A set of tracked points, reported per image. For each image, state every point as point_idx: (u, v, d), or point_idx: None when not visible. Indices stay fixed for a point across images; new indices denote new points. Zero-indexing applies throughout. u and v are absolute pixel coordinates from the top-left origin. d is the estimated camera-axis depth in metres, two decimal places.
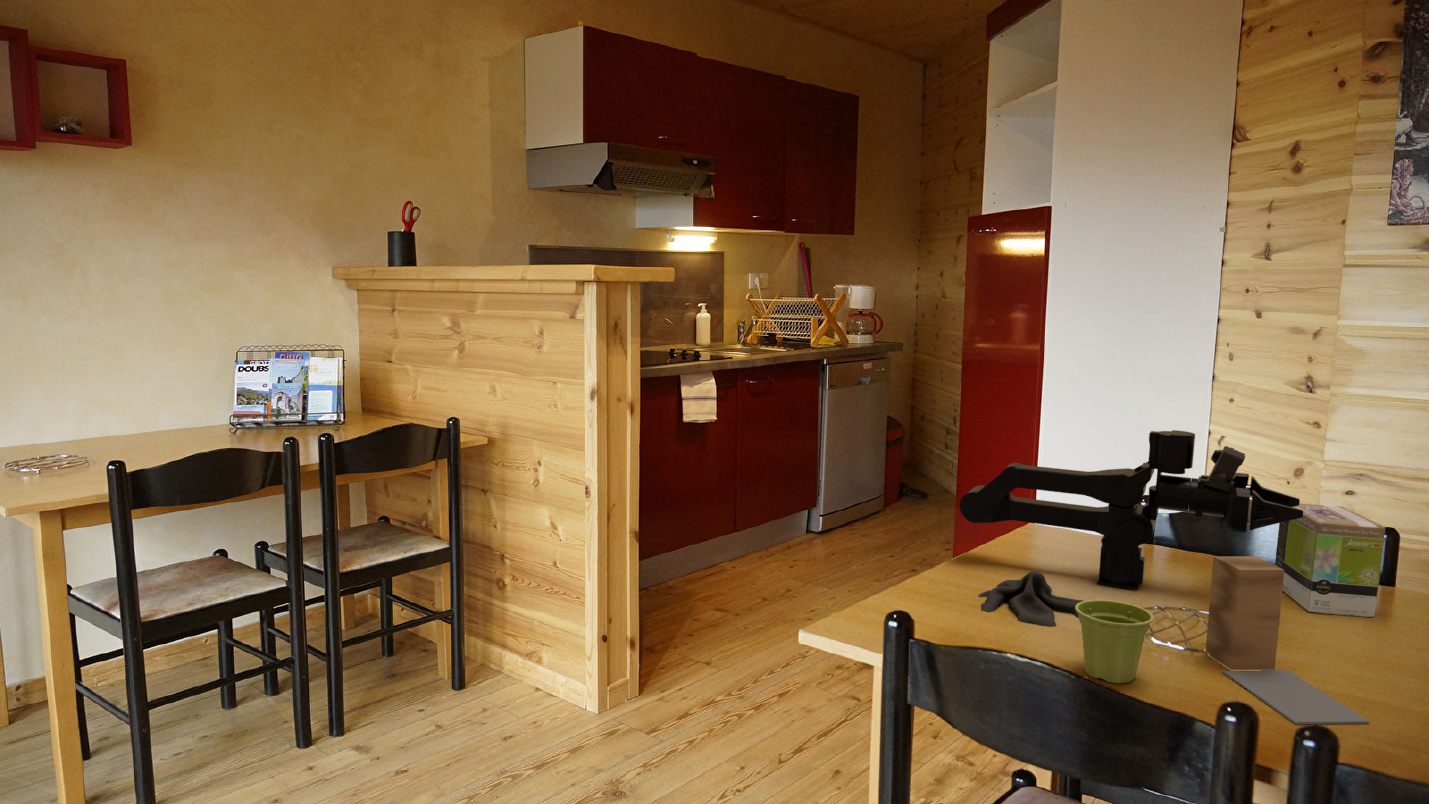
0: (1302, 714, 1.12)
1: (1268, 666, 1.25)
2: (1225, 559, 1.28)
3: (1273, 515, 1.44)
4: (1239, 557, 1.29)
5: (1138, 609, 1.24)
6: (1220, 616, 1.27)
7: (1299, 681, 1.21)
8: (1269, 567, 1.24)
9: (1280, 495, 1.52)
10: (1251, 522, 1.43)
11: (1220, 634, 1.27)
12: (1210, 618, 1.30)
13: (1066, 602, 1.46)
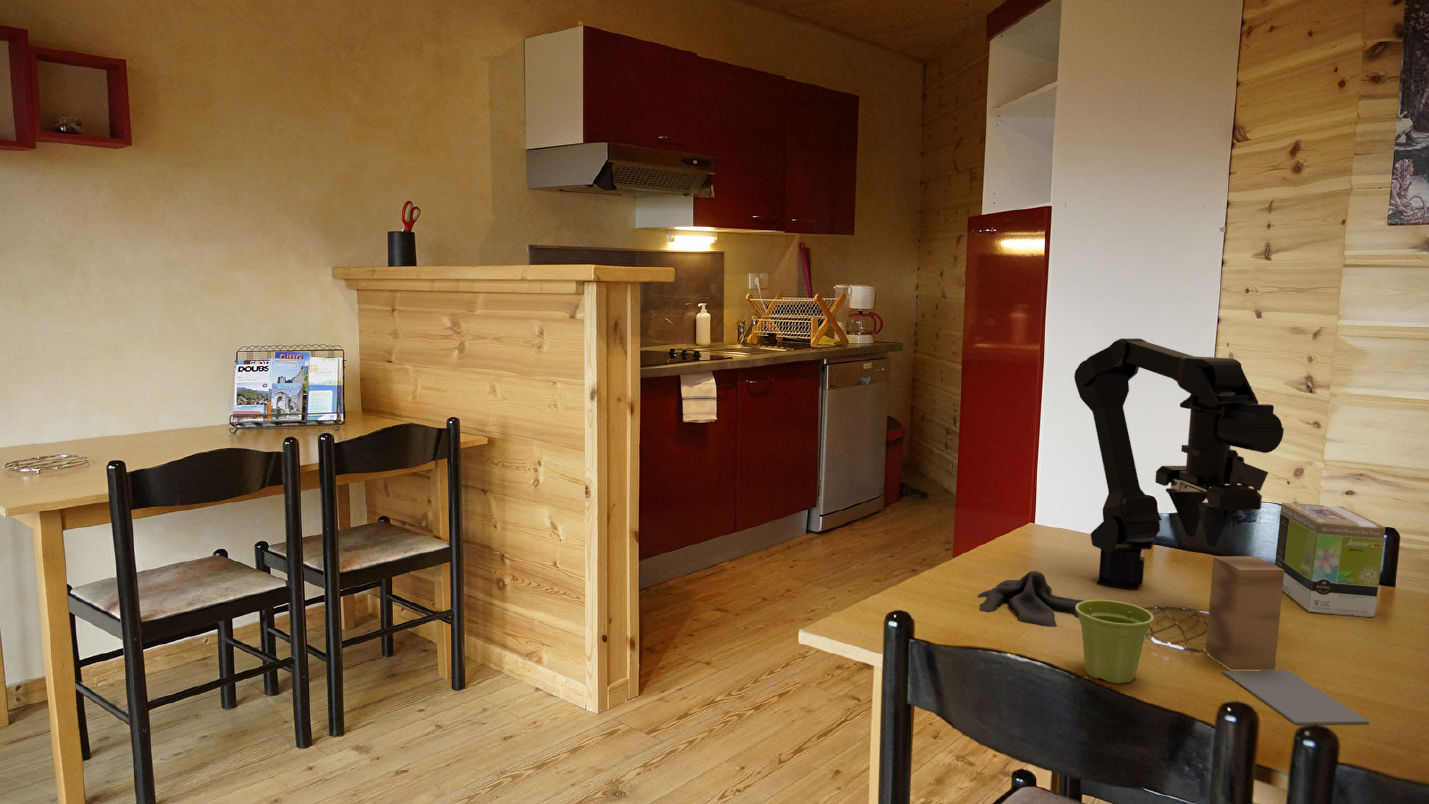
0: (1302, 714, 1.12)
1: (1268, 666, 1.25)
2: (1225, 559, 1.28)
3: (1214, 523, 1.39)
4: (1239, 557, 1.29)
5: (1138, 609, 1.24)
6: (1220, 616, 1.27)
7: (1299, 681, 1.21)
8: (1269, 567, 1.24)
9: (1197, 519, 1.46)
10: (1218, 508, 1.37)
11: (1220, 634, 1.27)
12: (1210, 618, 1.30)
13: (1066, 602, 1.46)
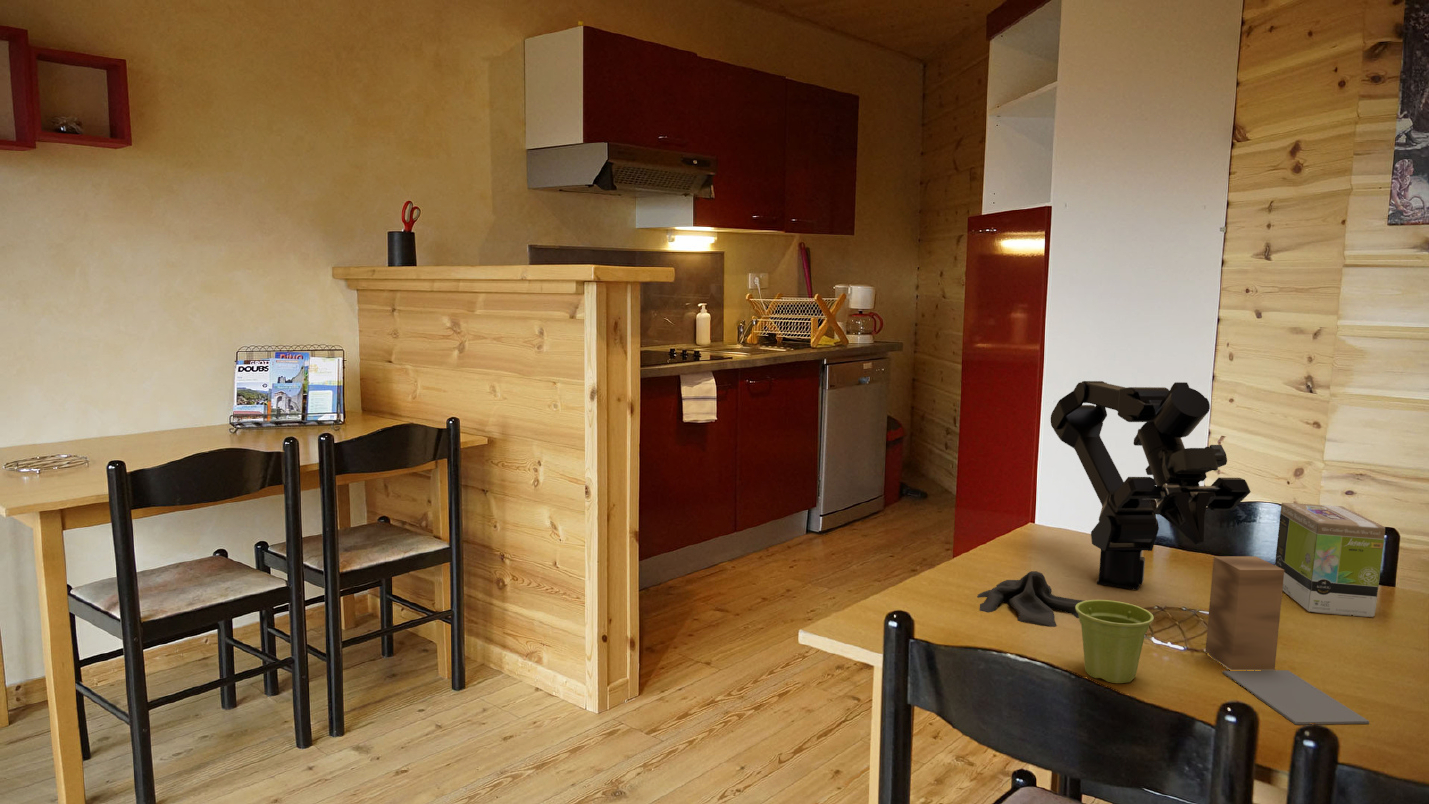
0: (1302, 714, 1.12)
1: (1268, 666, 1.25)
2: (1225, 559, 1.28)
3: (1180, 522, 1.40)
4: (1239, 557, 1.29)
5: (1138, 609, 1.24)
6: (1220, 616, 1.27)
7: (1299, 681, 1.21)
8: (1269, 567, 1.24)
9: (1197, 524, 1.39)
10: (1156, 508, 1.43)
11: (1220, 634, 1.27)
12: (1210, 618, 1.30)
13: (1066, 602, 1.46)
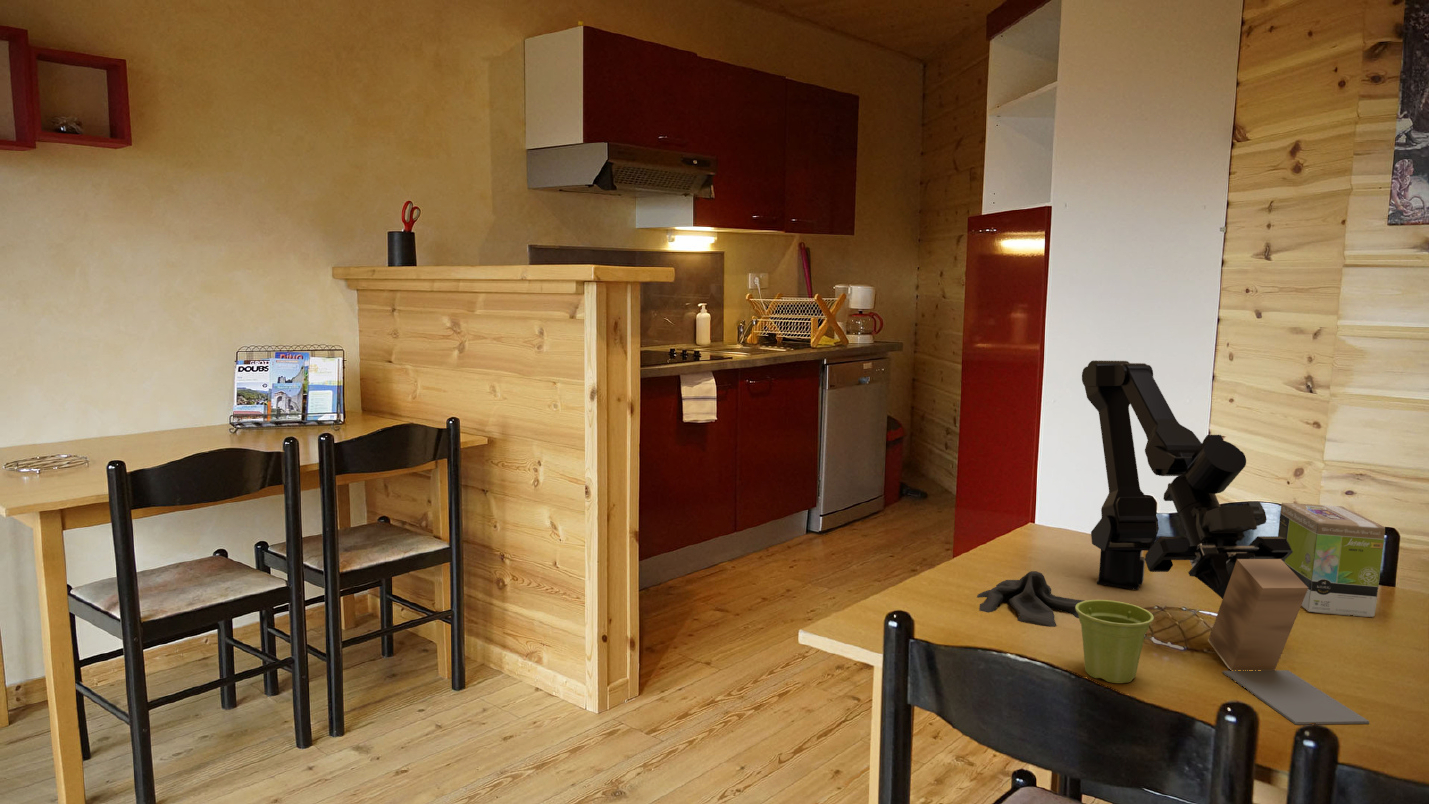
0: (1302, 714, 1.12)
1: (1269, 667, 1.25)
2: (1248, 565, 1.23)
3: (1217, 585, 1.31)
4: (1263, 561, 1.24)
5: (1138, 609, 1.24)
6: (1231, 617, 1.25)
7: (1299, 681, 1.21)
8: (1293, 582, 1.20)
9: None
10: (1191, 570, 1.33)
11: (1227, 632, 1.26)
12: (1220, 612, 1.27)
13: (1066, 602, 1.46)
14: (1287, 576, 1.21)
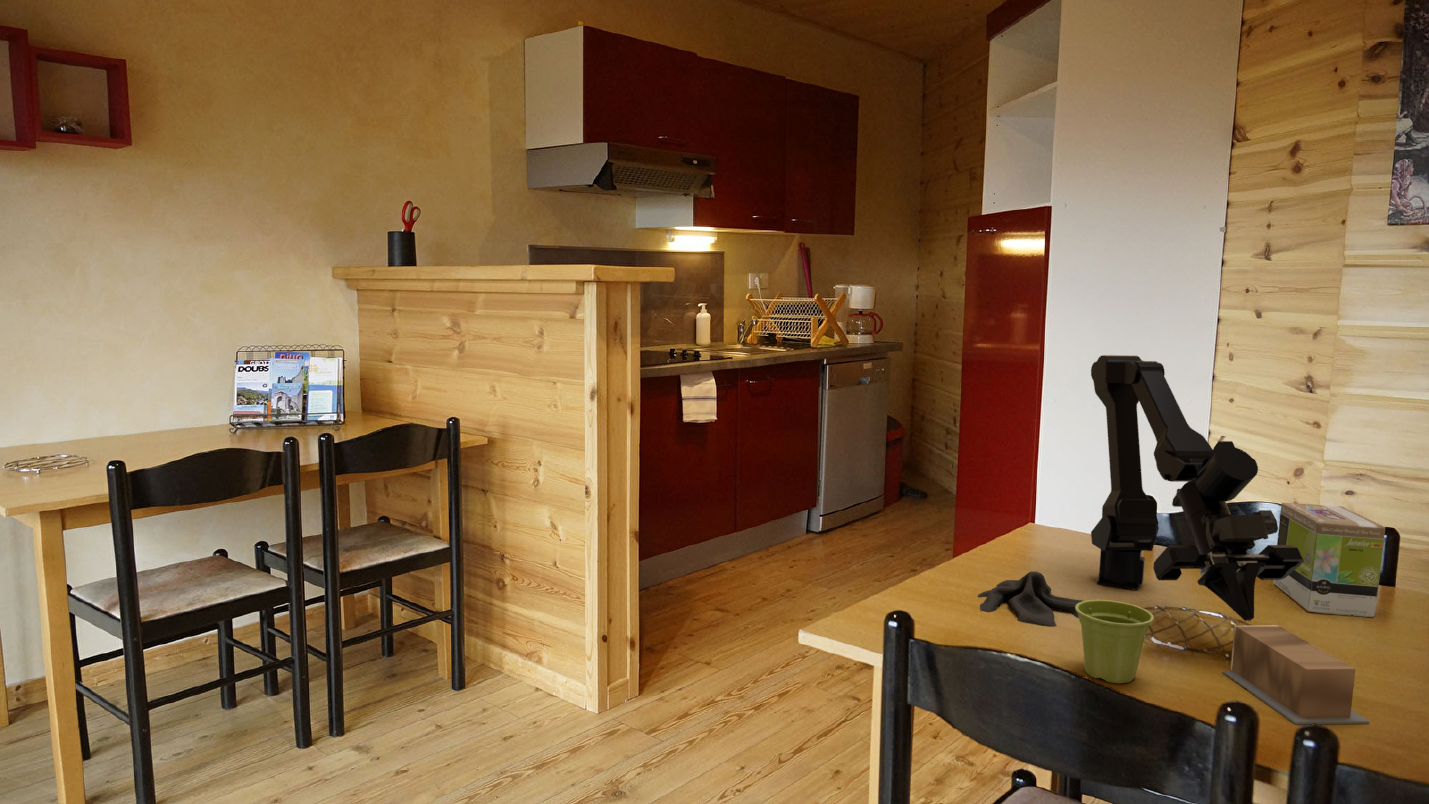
0: None
1: None
2: (1312, 680, 1.10)
3: (1227, 595, 1.28)
4: (1333, 673, 1.11)
5: (1138, 609, 1.24)
6: (1263, 664, 1.18)
7: None
8: (1340, 709, 1.11)
9: (1246, 598, 1.27)
10: (1200, 579, 1.31)
11: (1251, 659, 1.21)
12: (1259, 644, 1.19)
13: (1066, 602, 1.46)
14: (1341, 698, 1.11)
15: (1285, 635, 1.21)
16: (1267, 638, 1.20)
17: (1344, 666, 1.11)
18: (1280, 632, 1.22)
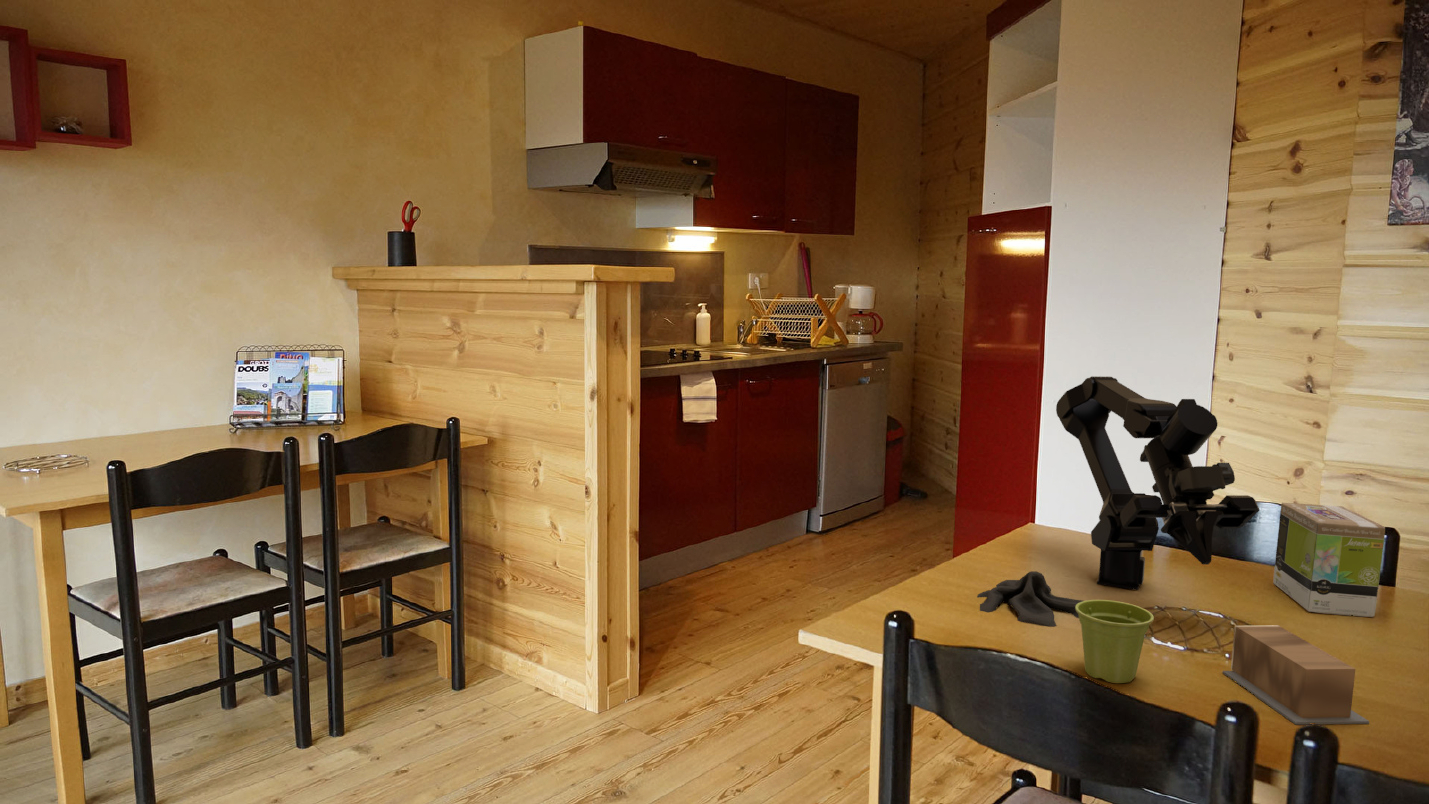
0: None
1: None
2: (1312, 680, 1.10)
3: (1187, 541, 1.38)
4: (1333, 673, 1.11)
5: (1138, 609, 1.24)
6: (1263, 664, 1.18)
7: None
8: (1340, 709, 1.11)
9: (1204, 544, 1.37)
10: (1163, 527, 1.41)
11: (1251, 659, 1.21)
12: (1259, 644, 1.19)
13: (1066, 602, 1.46)
14: (1341, 698, 1.11)
15: (1285, 635, 1.21)
16: (1267, 638, 1.20)
17: (1344, 666, 1.11)
18: (1280, 632, 1.22)
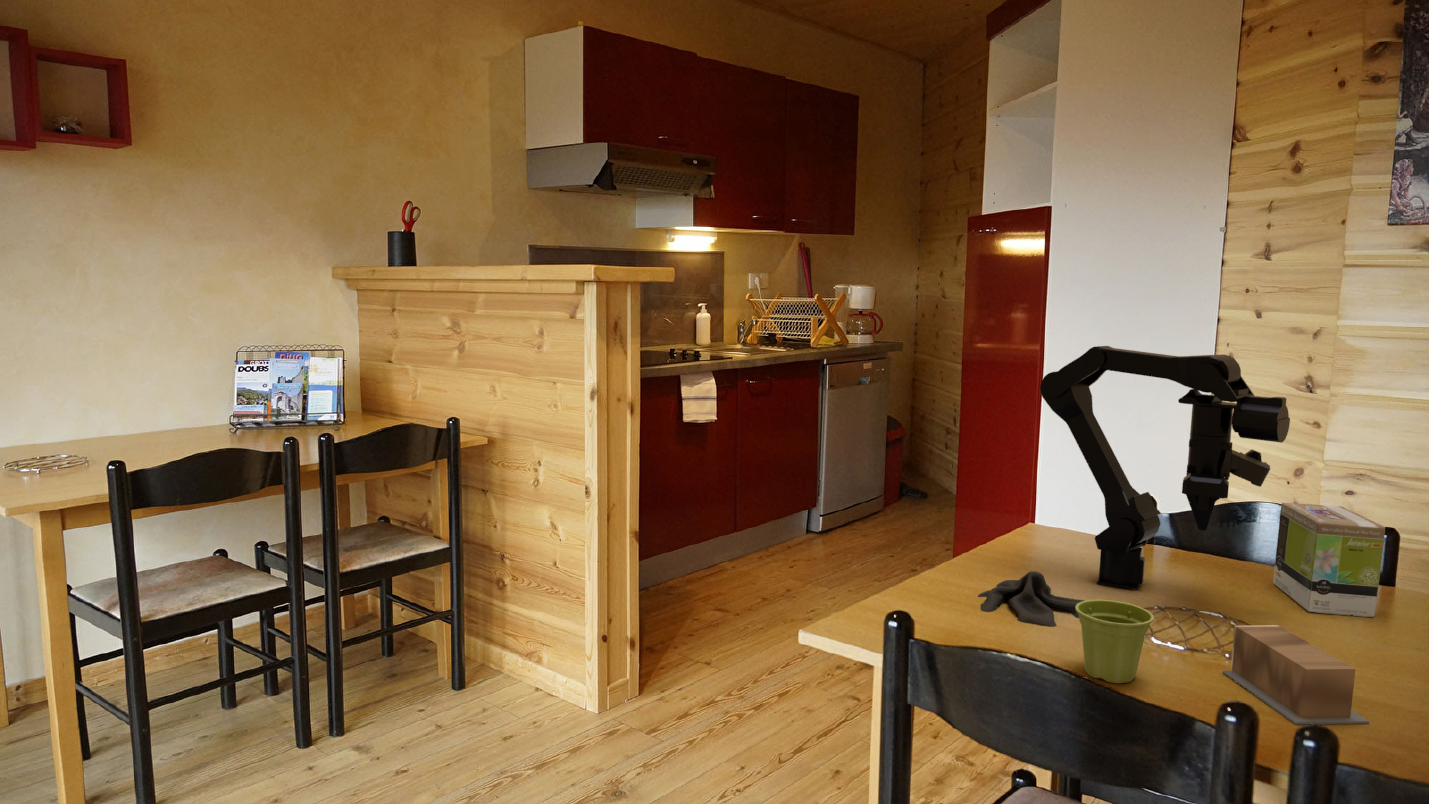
0: None
1: None
2: (1312, 680, 1.10)
3: (1200, 507, 1.49)
4: (1333, 673, 1.11)
5: (1138, 609, 1.24)
6: (1263, 664, 1.18)
7: None
8: (1340, 709, 1.11)
9: None
10: None
11: (1251, 659, 1.21)
12: (1259, 644, 1.19)
13: (1065, 602, 1.46)
14: (1341, 698, 1.11)
15: (1285, 635, 1.21)
16: (1267, 638, 1.20)
17: (1344, 666, 1.11)
18: (1280, 632, 1.22)
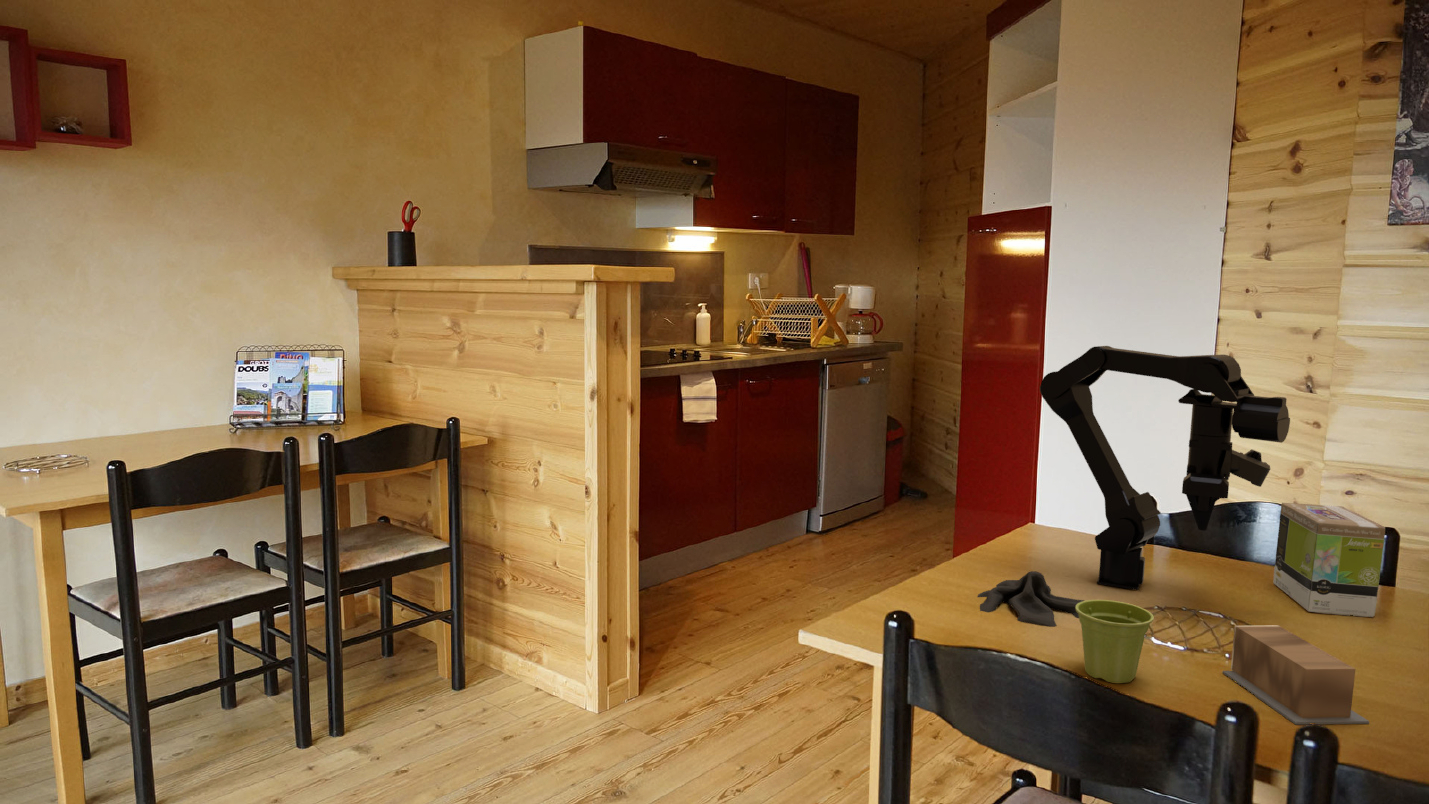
0: None
1: None
2: (1312, 680, 1.10)
3: (1200, 507, 1.49)
4: (1333, 673, 1.11)
5: (1138, 609, 1.24)
6: (1263, 664, 1.18)
7: None
8: (1340, 709, 1.11)
9: None
10: None
11: (1251, 659, 1.21)
12: (1259, 644, 1.19)
13: (1065, 602, 1.46)
14: (1341, 698, 1.11)
15: (1285, 635, 1.21)
16: (1267, 638, 1.20)
17: (1344, 666, 1.11)
18: (1280, 632, 1.22)
